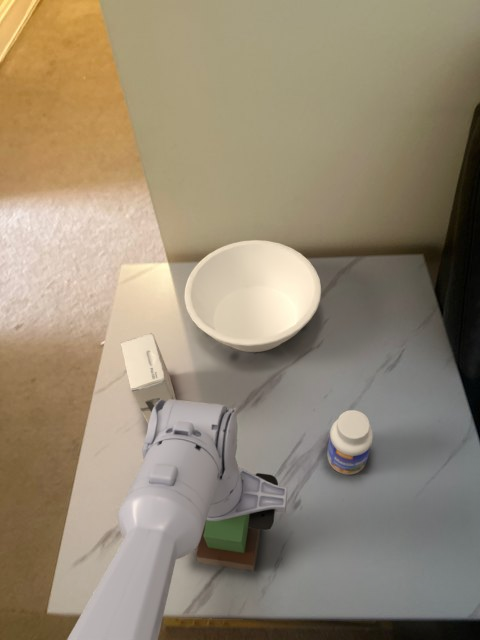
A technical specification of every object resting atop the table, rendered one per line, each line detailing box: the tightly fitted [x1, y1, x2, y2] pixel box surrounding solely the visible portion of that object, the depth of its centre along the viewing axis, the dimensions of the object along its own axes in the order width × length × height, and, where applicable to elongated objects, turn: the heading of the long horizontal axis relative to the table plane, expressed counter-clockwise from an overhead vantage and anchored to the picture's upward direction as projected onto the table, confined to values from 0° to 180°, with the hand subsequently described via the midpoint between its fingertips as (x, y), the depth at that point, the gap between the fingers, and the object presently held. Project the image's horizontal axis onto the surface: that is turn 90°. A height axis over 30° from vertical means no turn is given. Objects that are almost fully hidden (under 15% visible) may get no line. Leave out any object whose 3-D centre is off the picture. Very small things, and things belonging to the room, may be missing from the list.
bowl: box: [184, 239, 322, 353], centre depth 90 cm, size 21×21×8 cm
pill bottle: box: [326, 409, 374, 475], centre depth 74 cm, size 5×5×10 cm
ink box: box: [120, 332, 177, 425], centre depth 80 cm, size 9×5×12 cm, turn 17°
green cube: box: [204, 514, 250, 553], centre depth 68 cm, size 4×4×4 cm
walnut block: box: [195, 514, 261, 572], centre depth 71 cm, size 7×7×3 cm
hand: (223, 512), depth 64 cm, fingers open, 7 cm apart
